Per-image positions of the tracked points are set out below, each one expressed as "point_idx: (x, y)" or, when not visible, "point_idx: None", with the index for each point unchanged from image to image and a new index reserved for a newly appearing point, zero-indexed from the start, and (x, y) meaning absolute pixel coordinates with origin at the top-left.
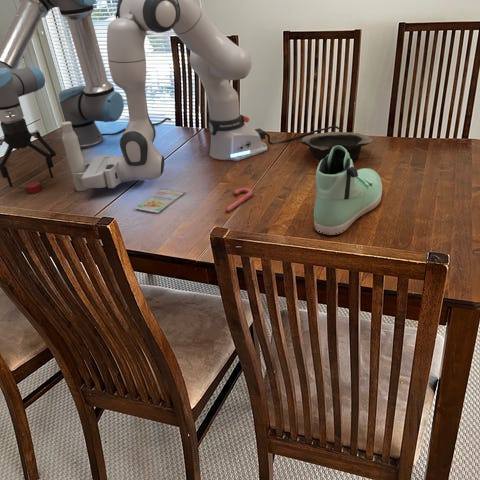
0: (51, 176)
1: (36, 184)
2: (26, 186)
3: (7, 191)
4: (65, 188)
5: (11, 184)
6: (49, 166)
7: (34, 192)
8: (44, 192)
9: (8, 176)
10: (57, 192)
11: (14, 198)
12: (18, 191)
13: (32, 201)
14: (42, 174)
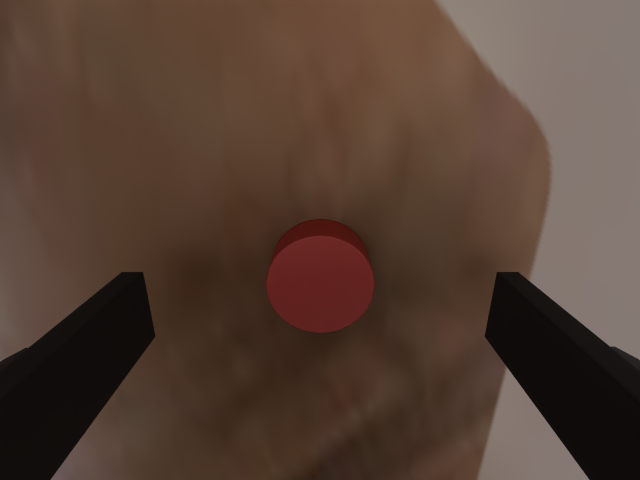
0: (127, 279)
1: (292, 274)
2: (373, 280)
3: (491, 351)
4: (87, 168)
5: (511, 284)
6: (37, 346)
7: (325, 221)
8: (253, 186)
9: (574, 336)
10: (148, 121)
11: (476, 204)
12: (427, 312)
13: (358, 48)
14: (256, 476)
